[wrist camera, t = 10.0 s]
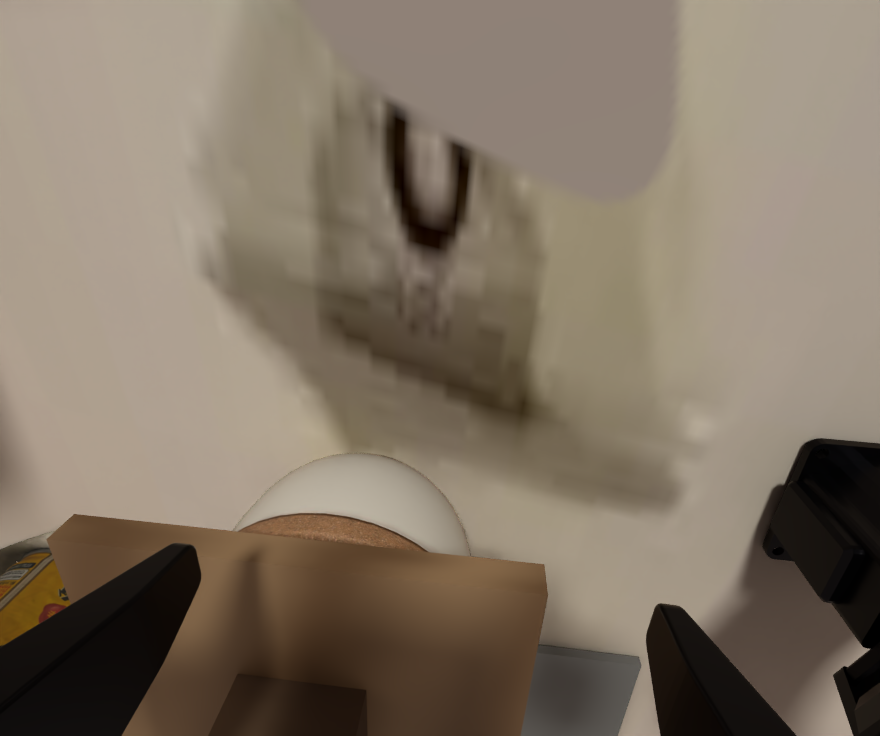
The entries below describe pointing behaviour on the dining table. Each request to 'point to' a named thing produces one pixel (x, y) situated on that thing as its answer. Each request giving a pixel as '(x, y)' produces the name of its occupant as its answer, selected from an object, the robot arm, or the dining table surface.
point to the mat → (578, 692)
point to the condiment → (28, 587)
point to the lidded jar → (359, 506)
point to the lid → (325, 634)
